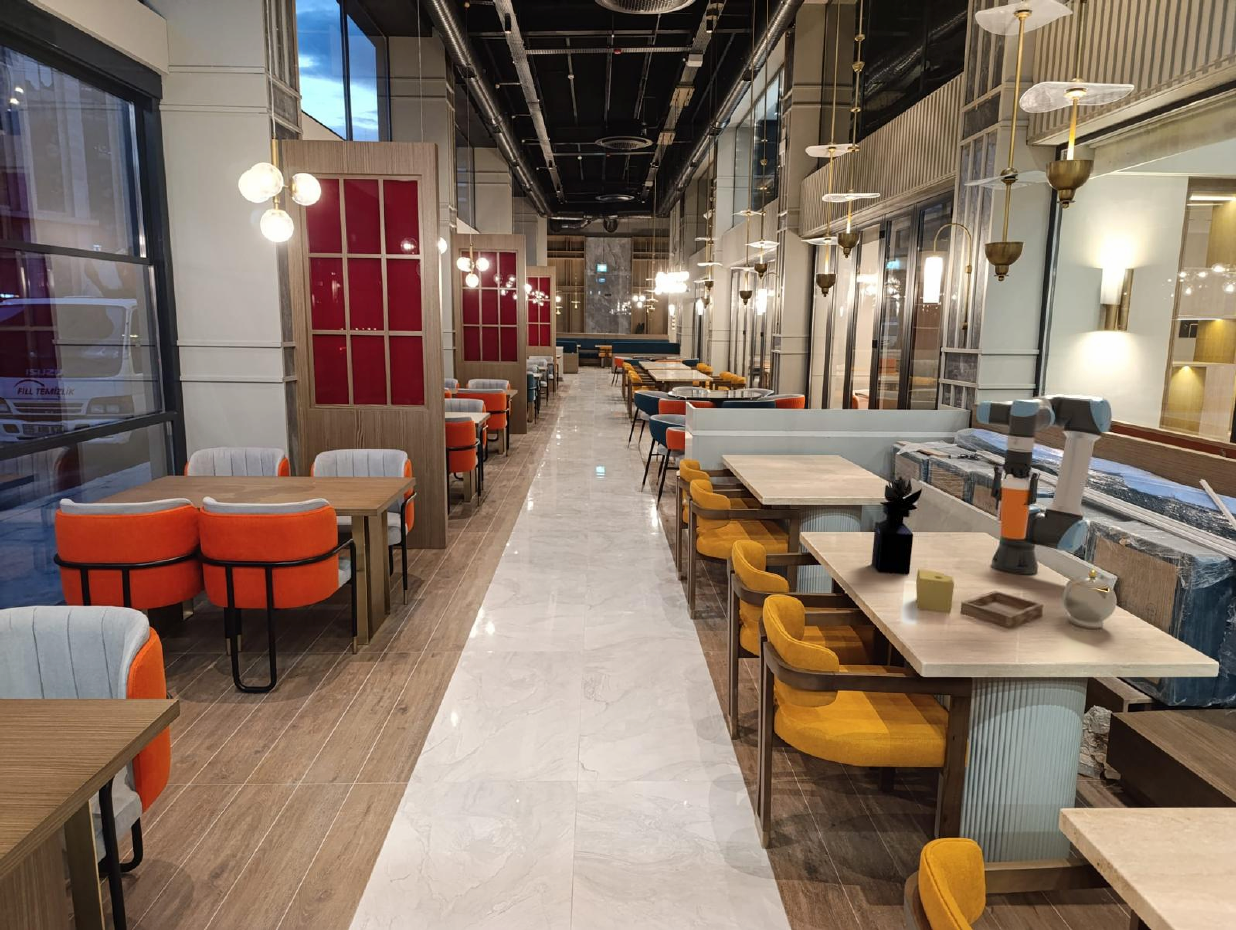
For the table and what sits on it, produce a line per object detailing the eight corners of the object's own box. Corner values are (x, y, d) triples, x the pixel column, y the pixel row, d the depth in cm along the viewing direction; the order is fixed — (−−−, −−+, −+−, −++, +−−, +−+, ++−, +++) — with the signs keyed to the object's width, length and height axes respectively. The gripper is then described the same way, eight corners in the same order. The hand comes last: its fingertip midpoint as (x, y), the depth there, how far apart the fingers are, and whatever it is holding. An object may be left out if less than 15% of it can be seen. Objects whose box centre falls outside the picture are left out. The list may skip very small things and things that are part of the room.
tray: (993, 601, 253) (994, 590, 252) (1041, 615, 241) (1043, 604, 241) (960, 613, 241) (961, 602, 240) (1009, 629, 229) (1010, 617, 229)
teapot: (1125, 634, 229) (1133, 579, 226) (1080, 633, 228) (1087, 578, 225) (1084, 611, 246) (1091, 560, 244) (1042, 611, 245) (1049, 560, 243)
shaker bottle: (1032, 540, 245) (1038, 476, 242) (1001, 538, 246) (1006, 475, 244) (1023, 534, 253) (1029, 472, 251) (993, 532, 255) (998, 471, 252)
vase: (909, 565, 290) (918, 470, 284) (917, 575, 278) (928, 476, 272) (868, 563, 291) (877, 468, 285) (876, 572, 280) (885, 474, 273)
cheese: (949, 603, 250) (952, 572, 249) (951, 614, 240) (955, 582, 239) (914, 598, 254) (917, 568, 252) (915, 609, 244) (918, 577, 242)
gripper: (983, 446, 251) (975, 517, 255) (1044, 455, 237) (1034, 530, 240) (996, 445, 256) (987, 515, 260) (1056, 453, 241) (1046, 528, 245)
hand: (1009, 522), depth 250 cm, fingers open, 6 cm apart
